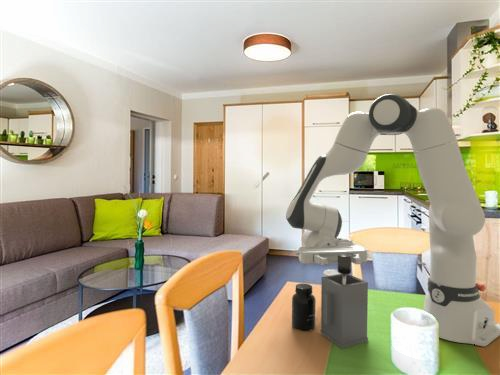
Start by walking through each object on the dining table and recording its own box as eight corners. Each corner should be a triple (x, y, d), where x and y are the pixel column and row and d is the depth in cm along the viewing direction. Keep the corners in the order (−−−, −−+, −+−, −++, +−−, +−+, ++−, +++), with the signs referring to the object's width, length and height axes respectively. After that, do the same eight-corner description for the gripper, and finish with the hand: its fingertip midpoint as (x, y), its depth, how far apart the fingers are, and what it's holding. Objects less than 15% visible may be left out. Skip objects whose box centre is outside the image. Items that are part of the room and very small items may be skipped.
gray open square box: (345, 326, 96) (346, 272, 95) (368, 341, 88) (369, 282, 87) (314, 334, 92) (315, 277, 91) (335, 350, 83) (336, 288, 83)
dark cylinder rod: (344, 310, 94) (345, 252, 93) (360, 319, 88) (361, 257, 87) (327, 314, 91) (328, 254, 90) (342, 324, 86) (343, 260, 85)
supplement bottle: (315, 332, 92) (315, 291, 92) (290, 330, 94) (291, 289, 93) (315, 321, 99) (315, 282, 99) (292, 319, 101) (292, 281, 100)
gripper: (293, 240, 103) (305, 251, 89) (355, 239, 105) (376, 249, 92) (293, 260, 103) (305, 274, 90) (355, 258, 106) (376, 272, 92)
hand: (341, 262), depth 91 cm, fingers open, 8 cm apart
